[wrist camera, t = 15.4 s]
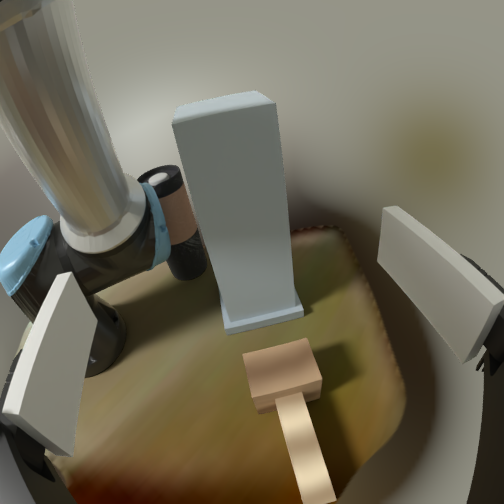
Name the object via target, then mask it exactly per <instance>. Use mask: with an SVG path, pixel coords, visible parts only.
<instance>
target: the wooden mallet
mask: <svg viewBox="0 0 504 504" xmlns="http://www.w3.org/2000/svg"><path fill="white" fill-rule="evenodd" d="M243 359H244V363H245V368H246V373H247V377H248V382H249V386H250V391H251V395H252V399H253V401H254V404H255V406H256V409H257V411H258V414H263V413H268V412H272V411H276V410H277V411H278V414H279V418H280V422H281V425H282V429H283V433H284V436H285V440H286V444H287V447H288V451H289V454H290V458H291V462H292V465H293V469H294V472H295V476H296V479H297V483H298V486H299V490H300V493H301V497H302V500H303V504H326V503H329V502H333V501H336V496H335V493H334V490H333V487H332V484H331V481H330V478H329V475H328V471H327V468H326V465H325V462H324V459H323V456H322V453H321V450H320V447H319V443H318V440H317V437H316V434H315V431H314V428H313V425H312V422H311V419H310V416H309V413H308V409H307V406H306V403H305V402H309V401H312V400H315V399H319V398H320V393H321V386H322V377H321V374H320V371H319V369H318V366H317V363H316V361H315V358H314V355H313V353H312V350H311V347H310V345H309V342H308V340H307V338H304V339H300V340H297V341H293V342H289V343H286V344H282V345H278V346H274V347H270V348H266V349H262V350H258V351H254V352H250V353H245V354H243Z"/></svg>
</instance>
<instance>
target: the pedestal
mask: <svg viewBox="0 0 504 504" xmlns="http://www.w3.org/2000/svg"><path fill="white" fill-rule="evenodd" d="M172 127H173V131H174V135H175V139H176V143H177V146H178V150H179V154H180V158H181V161H182V165H183V169H184V172H185V176H186V179H187V183H188V186H189V190H190V194H191V197H192V201H193V204H194V208H195V211H196V215H197V218H198V221H199V225H200V228H201V231H202V235H203V238H204V241H205V245H206V248H207V251H208V254H209V258H210V261H211V264H212V267H213V270H214V274H215V277H216V280H217V283H218V288H219V295H220V302H221V308H222V315H223V321H224V327H225V331H226V334H227V335H231V334H235V333H240V332H244V331H248V330H253V329H257V328H261V327H265V326H269V325H273V324H277V323H281V322H285V321H289V320H293V319H297V318H300V317H304V309H303V307H302V304H301V302H300V300H299V297H298V295H297V292H296V290H295V287H294V278H293V265H292V252H291V240H290V228H289V217H288V206H287V196H286V187H285V177H284V168H283V158H282V149H281V141H280V132H279V124H278V116H277V109H276V103H275V102H273V101H272V100H270V99H269V98H267V97H265V96H264V95H262V94H260V93H259V92H257V91H249V92H243V93H237V94H232V95H227V96H222V97H217V98H212V99H207V100H203V101H198V102H194V103H190V104H186V105H182V106H178V107H177V108H176V111H175V115H174V119H173V122H172Z"/></svg>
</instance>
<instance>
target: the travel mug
mask: <svg viewBox="0 0 504 504" xmlns="http://www.w3.org/2000/svg"><path fill="white" fill-rule="evenodd" d="M137 181H138V182H139V183H149V184H150V185H151V186H152V187H153V189H154V190H155V192H156V195H157V197H158V199H159V202H160V205H161V208H162V211H163V214H164V217H165V222H166V227H167V229H168V232H169V237H170V243H171V253H170V256H169V258H168V259H167V260H166V261H167V263H168V266H169V268H170V270H171V272H172V274H173V275H174V277H175V278H177V279H179V280H190V279H194V278H196V277H198V276H199V275H201V274H202V273H203V272H204V271H205V269H206V266H207V261H206V257H205V253H204V250H203V246H202V243H201V239H200V235H199V231H198V228H197V224H196V221H195V218H194V215H193V212H192V208H191V205H190V202H189V199H188V195H187V192H186V189H185V185H184V182H183V179H182V175H181V172H180V169H179V167H178V166H176V165H165V166H160V167H157V168H154V169H152V170H150V171H147V172H146V173H144V174H143V175H141V176H140V177H139V178H138V179H137Z"/></svg>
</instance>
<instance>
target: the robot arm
mask: <svg viewBox="0 0 504 504" xmlns="http://www.w3.org/2000/svg"><path fill="white" fill-rule="evenodd" d="M0 125H1V127H2V129H3V131H4V132H5V134H6V136H7V137H8V139H9V141H10V142H11V144H12V145H13V147H14V149H15V150H16V152H17V153H18V155H19V157H20V158H21V160H22V161H23V163H24V164H25V166H26V167H27V169H28V170H29V172H30V173H31V175H32V176H33V177H34V179H35V180H36V182H37V183H38V185H39V186H40V188H41V189H42V190H43V192H44V193H45V194H46V196H47V197H48V199H49V200H50V201H51V203H52V204H53V205H54V207H55V208H56V209H57V210H58V212H59V213H60V221H59V222H57V223H54V224H53V221H52V219H51V218H49V217H48V216H46V215H42V216H38V217H36V218H34V219H33V220H31V221H30V222H28V223H27V224H26V225H24V226H23V227H22V228H21V229H20V230H19V231H18V232H17V233H16V234H15V235H14V236H13V237H12V238H11V239H10V240H9V242H8V243H7V244H6V246H5V247H4V249H3V250H2V252H1V254H0V282H1V283H2V285H3V287H4V288H5V290H6V292H7V294H8V295H9V296H11V298H12V299H13V300H14V302H15V303H16V304H17V305H18V307H19V308H20V309H21V310H22V311H23V313H24V314H25V315H26V316H27V318H29V320H30V321H31V322H32V323H33V326H32V328H31V331H30V333H29V335H28V338H27V340H26V343H25V345H24V348H23V349H21V350H20V352H19V353H18V354H17V356H16V357H15V359H14V360H13V363H12V365H11V368H10V371H9V372H10V374H8V376H7V379H6V383H5V385H4V388H3V391H2V395H1V398H0V504H77V503H76V501H75V500H74V498H73V497H72V495H71V494H70V492H69V491H68V489H67V488H66V486H65V485H64V483H63V482H62V480H61V478H60V477H59V475H58V474H57V472H56V470H55V468H54V466H53V465H52V463H51V461H50V460H49V459H48V457H47V456H45V455H44V453H45V448H46V449H47V450H49V451H50V452H52V453H53V454H55V455H57V456H67V457H73V453H74V443H75V434H76V426H77V419H78V412H79V406H80V400H81V394H82V388H83V383H84V378H85V377H90V376H93V375H96V374H98V373H100V372H102V371H103V370H105V369H106V368H108V367H109V366H110V365H111V364H112V363H113V362H114V361H115V360H116V358H117V357H118V355H119V354H120V352H121V350H122V348H123V346H124V343H125V339H126V325H125V322H124V320H123V319H122V317H121V316H120V314H119V313H118V311H117V310H116V309H115V308H114V307H113V306H111V305H110V304H109V303H107V302H106V301H104V300H103V299H101V298H100V297H99V296H97V295H96V294H95V293H97V292H99V291H101V290H104V289H106V288H108V287H110V286H112V285H115V284H117V283H119V282H121V281H124V280H126V279H128V278H130V277H133V276H135V275H137V274H139V273H142V272H144V271H149V270H152V269H153V268H154V267H155V266H157V265H159V264H161V263H163V262H164V261H166V260H167V259H168V258H169V256H170V253H171V243H170V237H169V232H168V229H167V227H166V222H165V217H164V214H163V211H162V208H161V205H160V202H159V199H158V197H157V195H156V192H155V190H154V189H153V187H152V186H151V185H150V184H149V183H139V182H138V181H137V180H136V179H135V178H134V177H132V176H131V175H129V174H126V173H123V170H122V168H121V165H120V163H119V160H118V157H117V154H116V151H115V149H114V146H113V143H112V140H111V137H110V134H109V131H108V129H107V126H106V123H105V120H104V117H103V113H102V110H101V107H100V104H99V101H98V98H97V95H96V91H95V88H94V84H93V81H92V77H91V74H90V70H89V67H88V63H87V60H86V56H85V52H84V48H83V44H82V40H81V36H80V31H79V27H78V23H77V18H76V13H75V8H74V3H73V0H0ZM377 262H378V263H379V264H380V265H381V266H382V267H383V268H384V269H385V271H386V272H387V273H388V274H389V275H390V276H391V277H392V278H393V280H394V281H395V282H396V283H397V284H398V285H399V286H400V288H401V289H402V290H403V291H404V292H405V293H406V294H407V296H408V297H409V298H410V299H411V300H412V301H413V303H414V304H415V305H416V306H417V307H418V309H419V310H420V311H421V312H422V313H423V315H424V316H425V317H426V318H427V319H428V321H429V322H430V323H431V324H432V326H433V327H434V328H435V329H436V331H437V332H438V333H439V334H440V335H441V337H442V338H443V339H444V341H445V342H446V343H447V345H448V346H449V347H450V348H451V350H452V351H453V352H454V353H455V355H456V356H457V358H458V359H459V360H460V361H461V363H462V364H464V363H466V362H467V361H469V360H471V359H472V358H474V357H475V356H476V355H477V354H478V352H479V351H480V349H481V347H482V345H484V346H485V347H486V349H487V350H486V352H485V353H484V355H483V357H482V358H481V360H480V361H479V363H478V365H477V367H476V371H478V370H479V369H480V367H481V366H482V364H483V363H484V368H483V369H482V372H484V395H483V412H482V423H481V432H480V440H479V447H478V453H477V459H476V465H475V470H474V475H473V480H472V484H471V488H470V493H469V496H468V500H467V504H504V289H503V288H502V287H501V286H500V285H499V284H498V283H497V282H496V281H495V280H494V279H493V278H492V277H491V276H489V275H487V273H486V272H485V271H484V270H483V269H481V268H480V267H479V266H478V265H477V264H476V263H475V262H474V261H473V260H471V259H469V258H467V257H465V256H463V255H462V254H459V253H457V252H456V251H455V250H454V249H453V248H451V247H450V246H449V245H448V244H447V243H445V242H444V241H443V240H442V239H440V238H439V237H438V236H437V235H435V234H434V233H433V232H432V231H430V230H429V229H427V228H426V227H425V226H424V225H423V224H421V223H420V222H419V221H417V220H416V219H415V218H413V217H412V216H410V215H409V214H408V213H407V212H405V211H404V210H402V209H401V208H400V207H398V206H391V207H385V208H383V212H382V224H381V234H380V242H379V250H378V258H377Z"/></svg>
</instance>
